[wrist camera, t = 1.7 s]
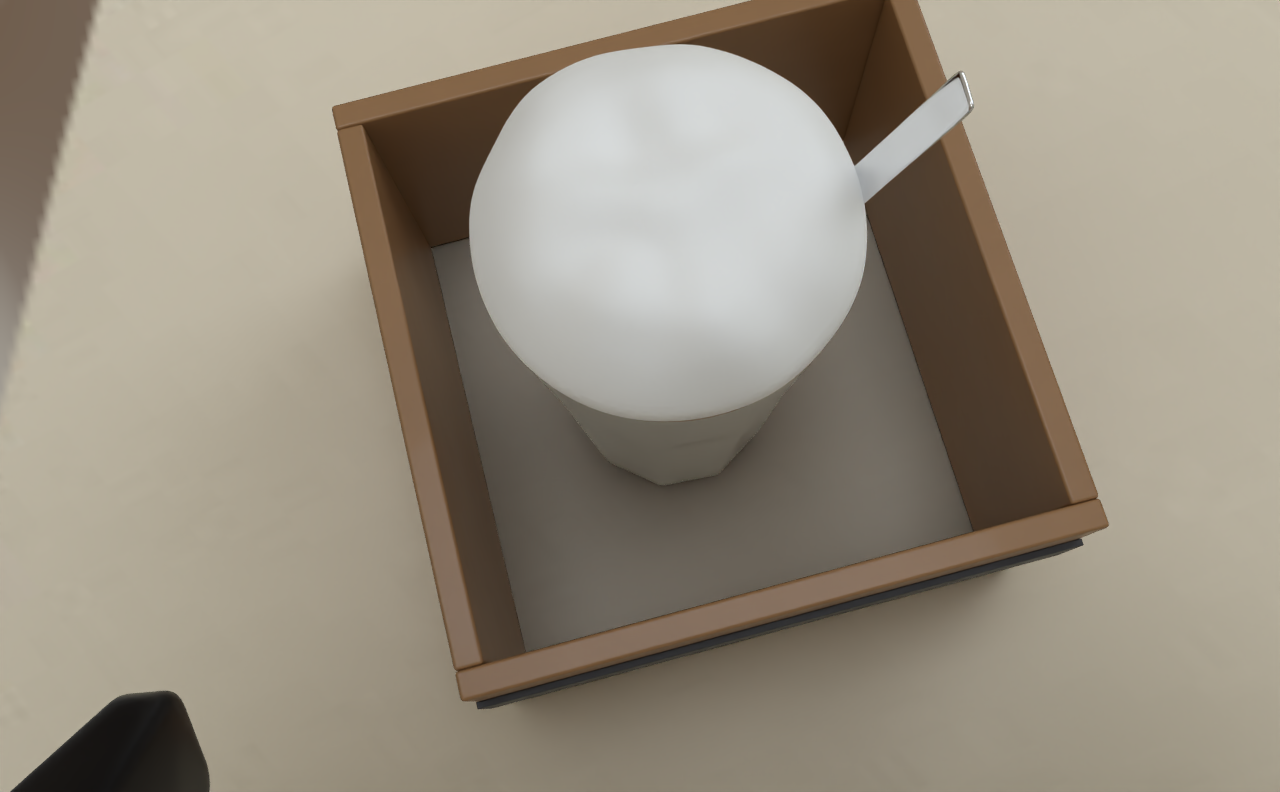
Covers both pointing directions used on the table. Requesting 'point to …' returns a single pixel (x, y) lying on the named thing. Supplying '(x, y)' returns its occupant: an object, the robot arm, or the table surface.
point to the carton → (918, 272)
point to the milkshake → (678, 244)
